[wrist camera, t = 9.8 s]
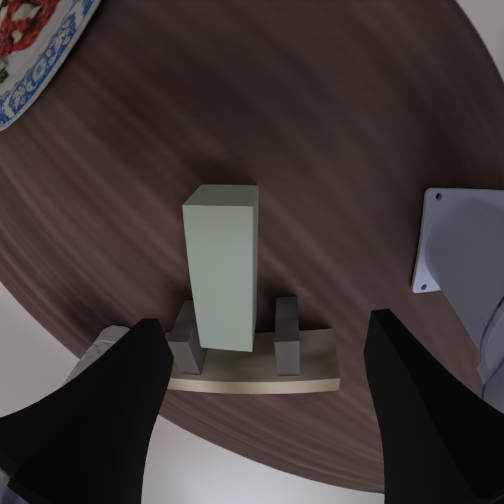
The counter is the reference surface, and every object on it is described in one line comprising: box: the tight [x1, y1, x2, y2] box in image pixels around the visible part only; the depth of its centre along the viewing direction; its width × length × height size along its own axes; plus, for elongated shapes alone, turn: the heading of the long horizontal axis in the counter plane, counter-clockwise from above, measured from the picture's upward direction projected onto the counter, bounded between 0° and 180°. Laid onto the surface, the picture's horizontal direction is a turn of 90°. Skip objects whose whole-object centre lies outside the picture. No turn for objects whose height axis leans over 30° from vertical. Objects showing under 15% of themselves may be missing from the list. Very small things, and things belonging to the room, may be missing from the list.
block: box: [182, 185, 258, 352], centre depth 18 cm, size 4×10×4 cm, turn 0°
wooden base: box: [165, 296, 340, 394], centre depth 20 cm, size 14×5×5 cm, turn 97°
